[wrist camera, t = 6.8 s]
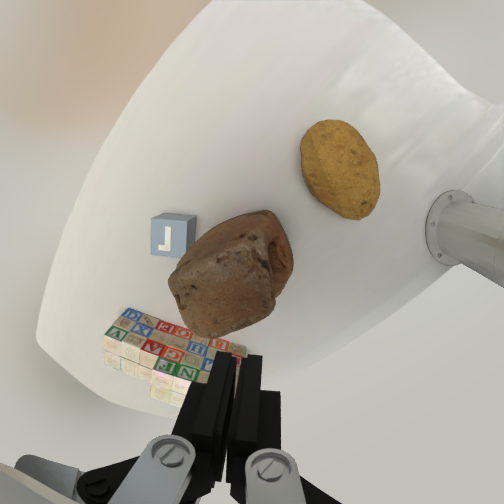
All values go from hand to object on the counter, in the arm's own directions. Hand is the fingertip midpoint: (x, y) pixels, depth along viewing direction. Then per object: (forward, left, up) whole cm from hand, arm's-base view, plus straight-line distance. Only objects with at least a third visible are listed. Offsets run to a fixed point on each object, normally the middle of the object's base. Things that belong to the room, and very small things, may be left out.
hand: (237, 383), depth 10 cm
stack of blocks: (+11, +21, -32) cm, 40 cm away
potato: (-9, -9, -32) cm, 34 cm away
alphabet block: (+12, +2, -32) cm, 34 cm away
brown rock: (+2, +2, -32) cm, 32 cm away
